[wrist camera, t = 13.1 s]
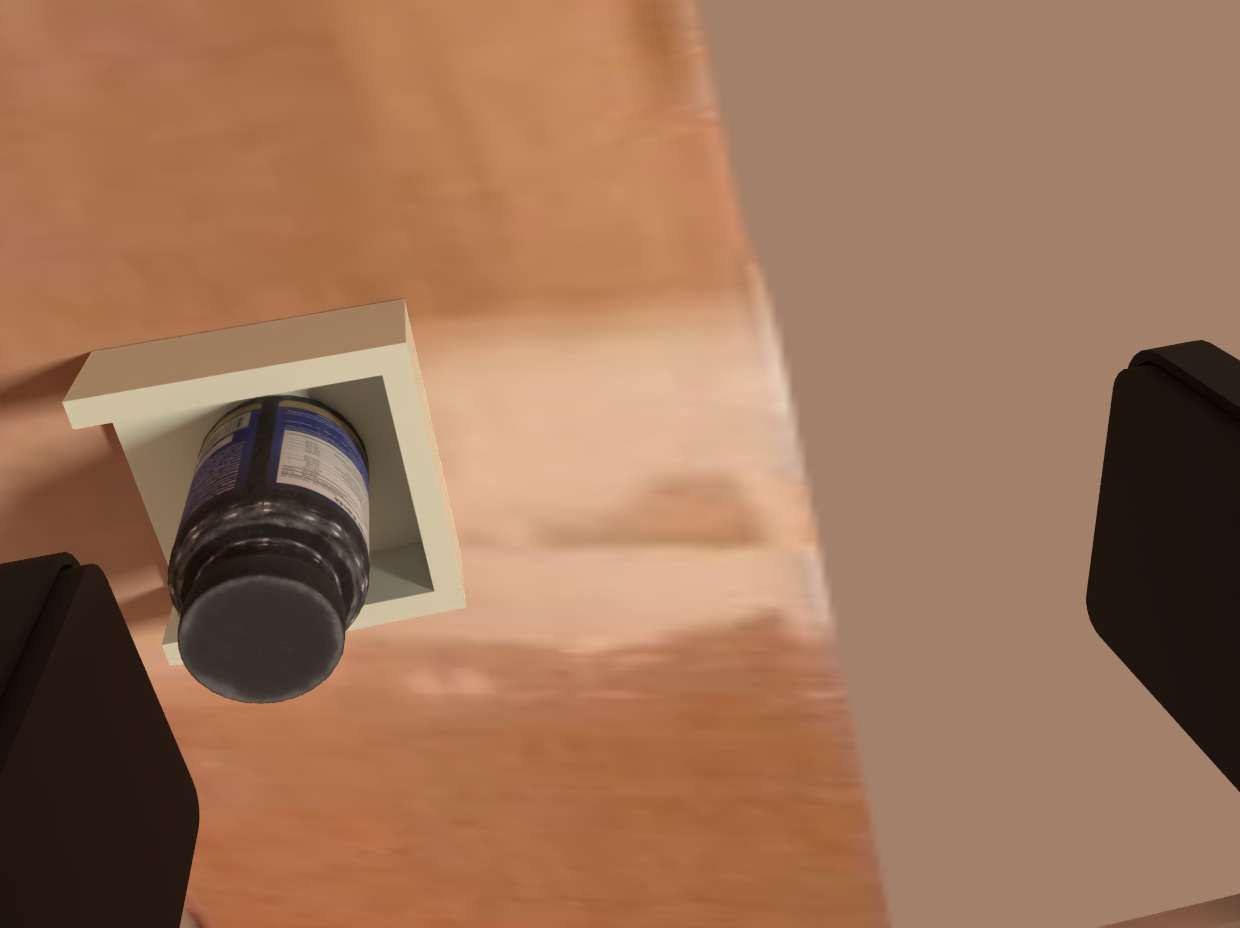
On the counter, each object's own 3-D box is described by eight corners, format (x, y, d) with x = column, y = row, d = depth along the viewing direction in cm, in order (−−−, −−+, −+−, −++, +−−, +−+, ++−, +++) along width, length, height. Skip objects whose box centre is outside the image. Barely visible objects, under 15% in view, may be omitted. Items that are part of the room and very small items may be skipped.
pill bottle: (225, 544, 43) (181, 742, 33) (179, 403, 40) (117, 576, 30) (385, 515, 43) (387, 701, 34) (352, 375, 40) (344, 537, 31)
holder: (91, 351, 39) (62, 402, 35) (404, 298, 40) (406, 342, 36) (187, 601, 44) (170, 666, 41) (459, 548, 45) (465, 607, 42)
